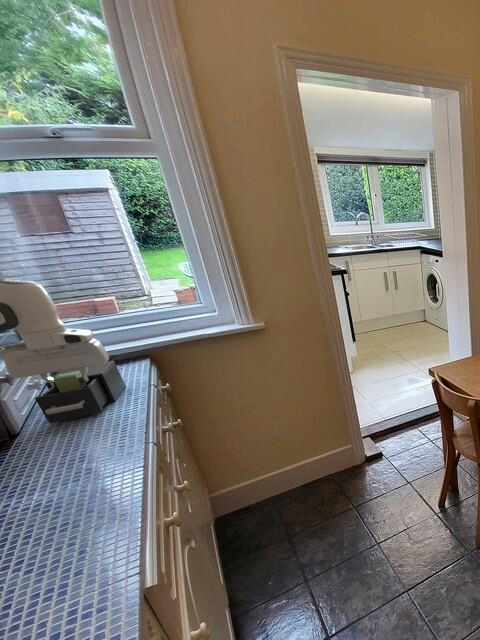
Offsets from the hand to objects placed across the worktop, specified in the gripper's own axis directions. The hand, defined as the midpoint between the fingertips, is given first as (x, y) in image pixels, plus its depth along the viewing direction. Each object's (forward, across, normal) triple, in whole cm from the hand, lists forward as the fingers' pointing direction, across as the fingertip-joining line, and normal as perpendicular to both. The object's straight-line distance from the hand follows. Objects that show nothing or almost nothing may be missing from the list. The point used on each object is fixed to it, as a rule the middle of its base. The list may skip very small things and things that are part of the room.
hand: (71, 384), depth 119 cm
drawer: (+8, 0, -3) cm, 8 cm away
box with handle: (+9, 0, +10) cm, 13 cm away
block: (+2, 0, 0) cm, 2 cm away
